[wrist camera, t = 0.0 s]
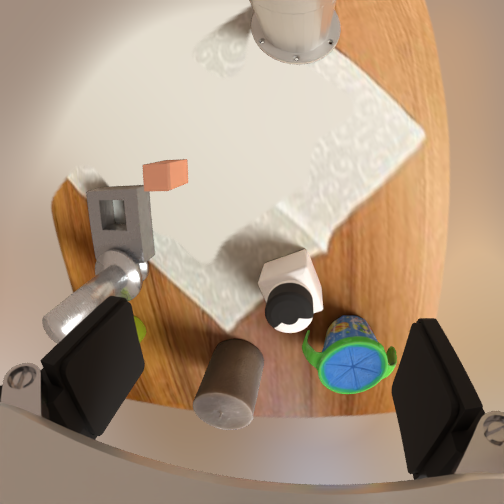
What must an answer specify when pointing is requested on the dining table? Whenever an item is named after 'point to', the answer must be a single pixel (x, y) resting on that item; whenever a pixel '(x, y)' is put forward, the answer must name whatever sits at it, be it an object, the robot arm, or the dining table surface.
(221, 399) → the pillar candle
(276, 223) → the dining table surface
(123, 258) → the slotted block
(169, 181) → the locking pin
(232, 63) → the dining table surface
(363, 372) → the snack cup
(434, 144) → the dining table surface
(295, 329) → the medicine bottle
